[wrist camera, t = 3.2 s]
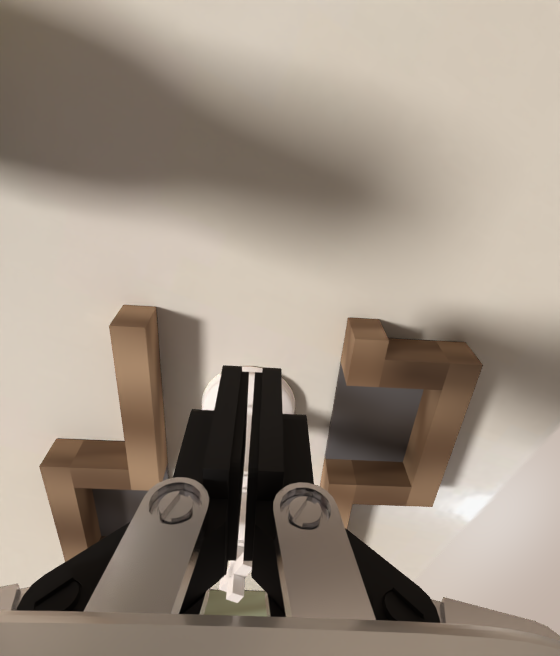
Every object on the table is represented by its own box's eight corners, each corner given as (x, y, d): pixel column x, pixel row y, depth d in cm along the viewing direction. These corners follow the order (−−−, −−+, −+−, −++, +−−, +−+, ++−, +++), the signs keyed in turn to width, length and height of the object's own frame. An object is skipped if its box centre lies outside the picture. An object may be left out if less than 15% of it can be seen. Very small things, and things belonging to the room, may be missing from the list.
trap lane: (23, 299, 20) (-15, 331, 17) (471, 324, 21) (499, 358, 18) (94, 599, 31) (78, 645, 29) (380, 605, 32) (389, 651, 30)
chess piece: (313, 391, 23) (339, 582, 14) (264, 451, 25) (260, 650, 16) (230, 349, 21) (202, 531, 13) (186, 416, 23) (135, 613, 15)
